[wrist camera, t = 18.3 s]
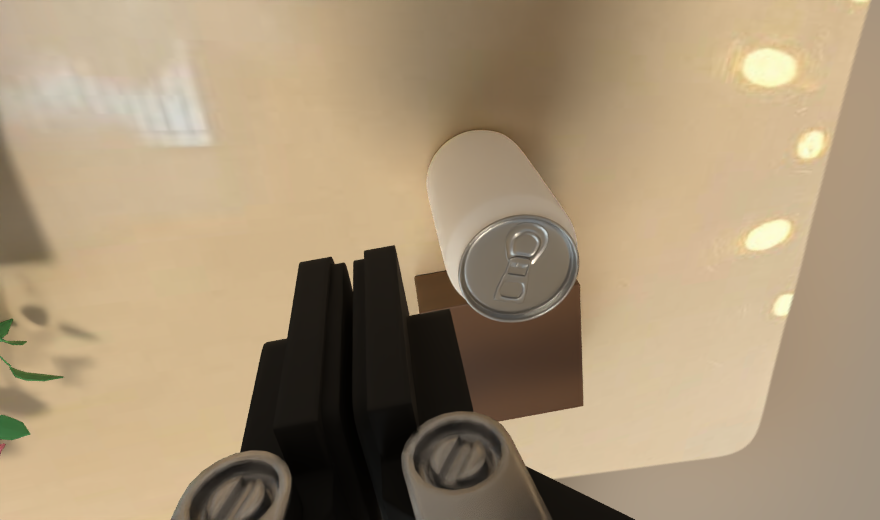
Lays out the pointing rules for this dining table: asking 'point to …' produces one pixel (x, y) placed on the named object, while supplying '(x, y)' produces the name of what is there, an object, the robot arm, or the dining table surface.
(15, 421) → the flower vase
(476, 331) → the walnut block
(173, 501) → the dining table surface
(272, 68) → the dining table surface
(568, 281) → the can
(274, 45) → the dining table surface
